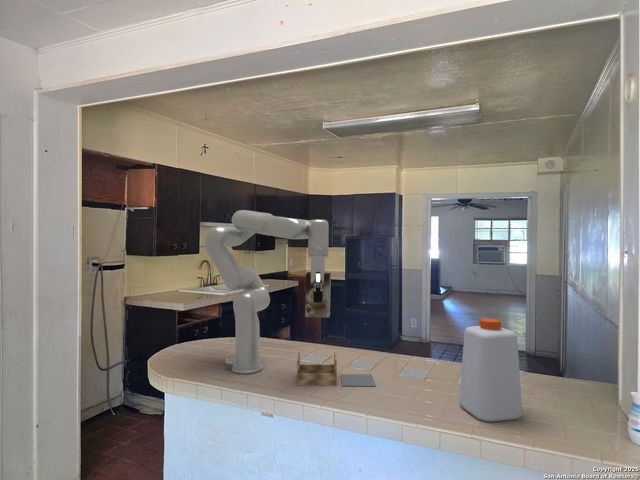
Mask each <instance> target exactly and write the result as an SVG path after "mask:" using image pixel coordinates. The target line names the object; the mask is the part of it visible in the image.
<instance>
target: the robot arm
mask: <svg viewBox="0 0 640 480" xmlns="http://www.w3.org/2000/svg"><path fill="white" fill-rule="evenodd" d="M231 224H232V225H233V226H229V225H228V226H224V225H220V226H214V227H212V228H210V229H209V230H208V231H207V233H206V235H205V238H204V239H205V240H204V245H205V250H206V253H207V255H208V257H209V258H210V259H211V261H212V262H213V264H214V266H215V268H216V270H217V272H218V274H219V275H220V277H221V280H223V283H224V285H225V286H226V288H227V289H228V290H230V291H233V292H238V291H240V292H238V293H237V294H236V295H235V297H234V298H233V301H232V305H233V306H232V308H233V312H234V320H235V321H234V322H235V355H234V357H232V358H230V357H229V358H227V357H225V359H224V364H225V365H231V371H232V372H233V373H236V374H242V375H244V374H247V375H248V374H255V373H258V372H261V371H262V370H263V369H264V364H263V363H262V362H260V335H261V334H260V332H261V331H260V329H261V328H260V320H259V317H258V312H261V311H263V310H265V309H266V308H268V307H269V305H270V303H271V297H270V294H269V291H268V289H267V288H266V286H265V284H264V283H263V281H262V278H261V277H260V276H259V274H258V272H257V271H256V270H255V269H254V268H252V267H251V266H241V265H240V264H239V262H238V260H237V259H236V256H235V255H234V254H233V253H232V252H231V251H230V250H229V248H227V247H238V246H240V245H242V244H243V243H244V242H246V241H248V239H250V238H251V237H252V236H255V234H260V235H265V236H272V237H276V238H282V239H288V240H307V239H308V241H307V242H308V243H307V244H308V245H307V248H308V250H307V254H308V255H307V256H308V258H310V272H311V281H310V283H311V284H312V282H314V302H315V303H322V284H323V283H324V274H325V273H326V258H329V235H330V234H329V233H330V231H329V222H328V221H327V219H310V220H309V219H308V220H307V219H301V218H290V217H284V216H276V215H273V214H272V213H268V212H259V211H253V210H245V209H241V210H237V211H235V212H234V213H233V214H232V216H231ZM316 272H317V274H316ZM315 278H316V283H315ZM320 281H321V283H320Z"/></svg>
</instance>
